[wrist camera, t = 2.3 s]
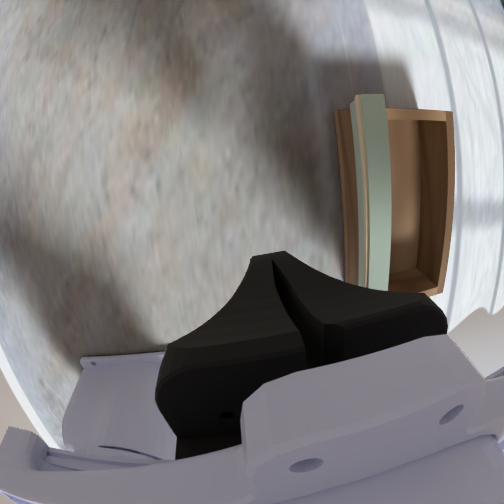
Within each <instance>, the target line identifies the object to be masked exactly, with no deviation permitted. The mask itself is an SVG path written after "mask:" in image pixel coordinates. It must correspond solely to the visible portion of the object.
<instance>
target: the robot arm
mask: <svg viewBox="0 0 504 504" xmlns="http://www.w3.org/2000/svg"><path fill="white" fill-rule="evenodd" d="M447 329H448V324H447V318H446V316H445V314H444V313H443V311H442V310H441V309H440V308H439V307H438V306H437V305H436V304H435V303H434V302H433V301H432V300H431V299H430V298H429V297H428V296H427V295H426V294H425V293H412V292H391V291H383V290H376V289H370V288H366V287H361V286H357V285H353V284H350V283H346V282H344V281H341V280H338V279H335V278H333V277H330V276H328V275H326V274H323V273H321V272H319V271H317V270H315V269H313V268H312V267H310V266H308V265H306V264H305V263H303V262H301V261H300V260H298V259H297V258H295V257H293V256H292V255H290V254H289V253H287V252H286V251H280V252H275V253H269V254H263V255H257V256H253V257H252V258H251V259H250V264H249V267H248V269H247V272H246V274H245V276H244V278H243V280H242V282H241V284H240V285H239V287H238V289H237V290H236V292H235V293H234V295H233V296H232V298H231V299H230V300H229V301H228V303H227V304H226V305H225V306H224V307H223V308H222V309H221V310H220V311H219V312H217V313H216V314H215V315H214V316H213V317H212V318H211V319H210V320H208V321H207V322H206V323H204V324H203V325H201V326H200V327H198V328H197V329H195V330H194V331H192V332H191V333H189V334H187V335H185V336H183V337H181V338H179V339H178V340H176V341H174V342H172V343H170V344H168V346H167V349H166V351H164V352H154V353H143V354H130V355H116V356H98V357H82V358H81V359H80V364H81V365H82V367H83V371H82V373H81V376H80V378H79V380H78V382H77V385H76V387H75V389H74V392H73V394H72V396H71V399H70V401H69V404H68V406H67V409H66V411H65V414H64V417H63V422H62V436H63V442H64V445H65V447H66V450H67V451H66V450H60V449H55V448H50V447H48V445H47V444H46V443H45V442H44V441H43V440H42V439H41V438H40V437H39V436H38V435H36V434H34V433H33V432H31V431H28V430H23V429H19V428H15V427H8V429H7V431H6V434H5V436H4V438H3V440H2V443H1V445H0V493H1V494H3V495H4V496H5V497H7V498H8V499H10V500H11V501H13V502H14V503H16V504H504V367H502V368H501V369H499V370H497V371H496V372H494V373H493V374H491V375H489V376H487V377H486V378H484V377H483V376H482V374H481V373H480V372H479V370H478V369H477V368H476V367H475V365H474V364H473V363H472V362H471V361H470V360H469V358H468V357H467V356H466V354H465V353H464V352H463V351H462V350H461V348H460V347H459V346H458V345H457V344H456V343H455V342H454V341H453V340H452V339H451V338H450V337H449V336H448V335H447Z"/></svg>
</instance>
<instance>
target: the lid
mask: <svg viewBox="0 0 504 504" xmlns="http://www.w3.org/2000/svg"><path fill="white" fill-rule="evenodd" d="M354 98H355V100H354V101H353V102H352V103H351V104H350V113H351V121H352V130H353V140H354V151H355V163H356V178H357V196H358V224H359V278H358V286H361V287H366V288H370V289H376V290H383V291H388V281H389V268H390V250H391V210H392V204H391V165H390V147H389V134H388V123H387V113H386V104H385V96H384V94H357V95H356V96H355V97H354Z"/></svg>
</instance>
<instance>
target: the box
mask: <svg viewBox="0 0 504 504" xmlns="http://www.w3.org/2000/svg"><path fill="white" fill-rule="evenodd" d="M386 113H387V123H388V134H389V147H390V165H391V204H392V210H391V250H390V268H389V281H388V291H391V292H412V293H425V294H426V295H427V296H428V297H430V296H433V295H436V294H439V293H442V292H443V288H444V282H445V277H446V271H447V264H448V257H449V250H450V241H451V232H452V221H453V208H454V187H455V146H454V126H453V113H452V112H451V111H439V110H423V109H396V108H386ZM334 117H335V126H336V134H337V143H338V153H339V164H340V176H341V190H342V206H343V226H344V263H345V282H346V283H350V284H353V285H357V286H358V278H359V224H358V196H357V178H356V163H355V151H354V140H353V130H352V121H351V113H350V109H348V110H338V111H334Z"/></svg>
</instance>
